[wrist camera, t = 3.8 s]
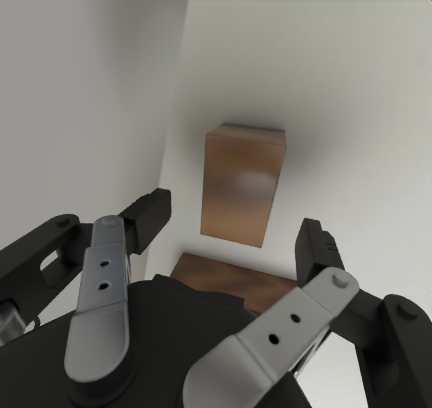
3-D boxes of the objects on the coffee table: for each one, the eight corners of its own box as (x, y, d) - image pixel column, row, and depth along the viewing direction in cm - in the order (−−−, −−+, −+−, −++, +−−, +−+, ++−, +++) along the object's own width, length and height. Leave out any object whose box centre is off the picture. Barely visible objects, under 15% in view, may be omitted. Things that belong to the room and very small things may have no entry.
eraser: (265, 215, 21) (261, 248, 17) (215, 205, 22) (200, 234, 18) (285, 130, 17) (286, 145, 13) (223, 122, 18) (205, 134, 14)
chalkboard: (182, 359, 39) (167, 399, 34) (183, 252, 26) (159, 292, 21) (259, 385, 37) (255, 434, 31) (301, 282, 24) (308, 336, 18)
